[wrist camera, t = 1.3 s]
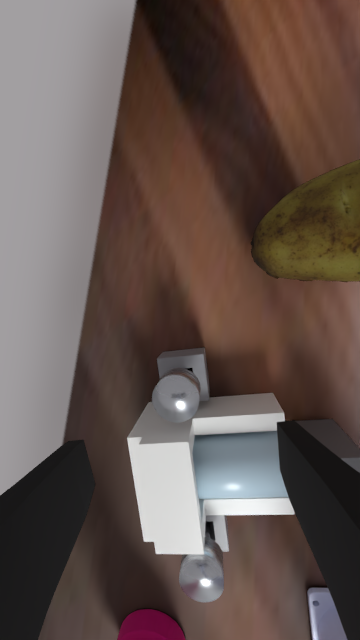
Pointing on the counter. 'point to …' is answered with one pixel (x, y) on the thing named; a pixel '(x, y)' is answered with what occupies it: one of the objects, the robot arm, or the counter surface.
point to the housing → (178, 466)
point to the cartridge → (257, 460)
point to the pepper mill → (150, 626)
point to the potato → (314, 230)
